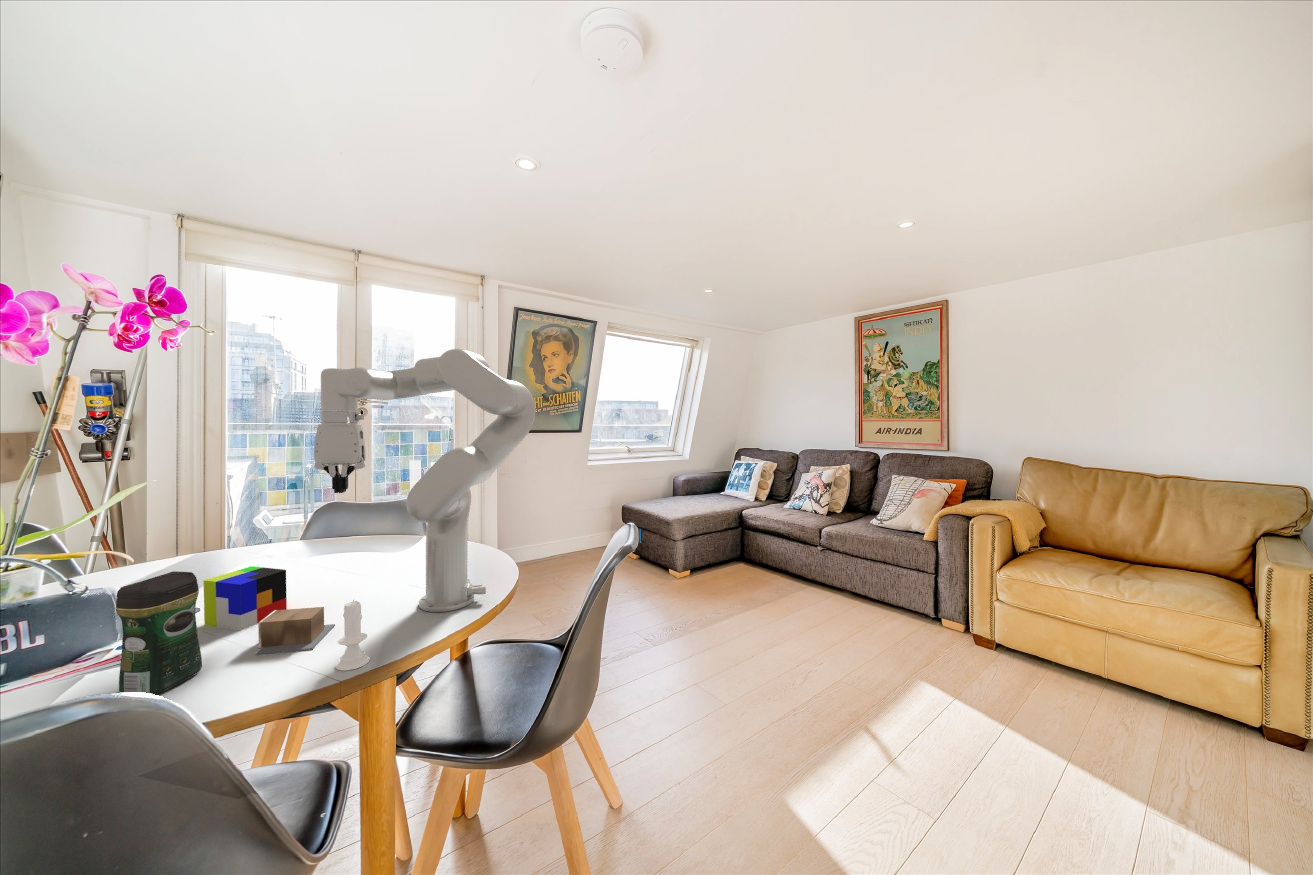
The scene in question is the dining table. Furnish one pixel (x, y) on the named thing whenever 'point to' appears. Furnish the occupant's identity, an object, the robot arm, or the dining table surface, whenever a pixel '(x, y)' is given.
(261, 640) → the block
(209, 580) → the puzzle toy
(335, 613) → the dining table surface
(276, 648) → the mat
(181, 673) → the coffee jar
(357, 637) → the candle
